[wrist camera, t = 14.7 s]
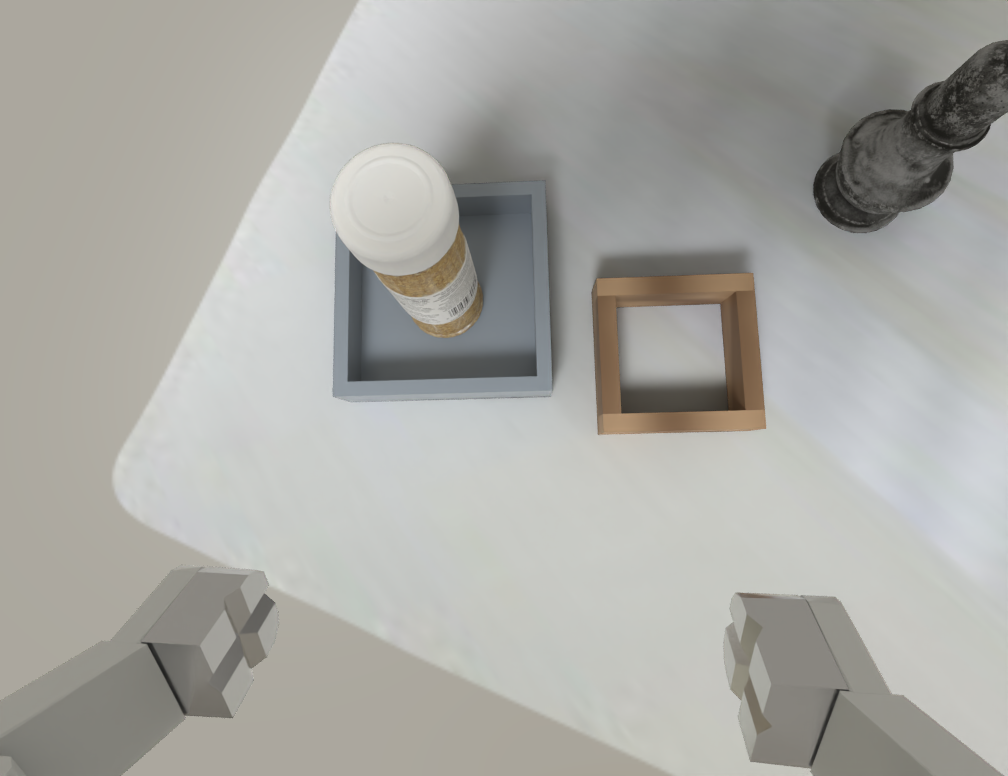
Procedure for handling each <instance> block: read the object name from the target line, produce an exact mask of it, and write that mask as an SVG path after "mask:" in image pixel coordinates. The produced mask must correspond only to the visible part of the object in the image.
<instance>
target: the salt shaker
mask: <svg viewBox="0 0 1008 776" xmlns="http://www.w3.org/2000/svg"><path fill="white" fill-rule="evenodd" d="M1007 112H1008V40H1005V41H999V42H994V43H991V44H989V45H987V46H985V47H984V48H982V49H980V50H979V51H977V52H976V53H975V54H974V55H973V56H972V57H971V58H969V59H968V60H967V61H966V62H965V63H964V64H963V65H962V66H961V67H960V68H958V69H957V70H956V71H955V72H954V73H953V74H952V75H951V76H950V77H949V78H948V79H946V80H945V81H942V82H937V83H934V84H932V85H930V86H928V87H926V88H925V89H924V90H922V91H921V92H920V93H919V94H918V95H917V97H916V98H915V100H914V101H913V104H912V107H911V110H910V111H905V110H884V111H880V112H875V113H873V114H871V115H869V116H867V117H865V118H863V119H861V120H860V121H859V122H858V123H857V124H856V125H854V126H853V127H852V128H851V129H850V131H849V133H848V134H847V136H846V137H845V139H844V141H843V145H842V149H841V152H840V153H838V154H836V155H834V156H832V157H831V158H830V159H829V160H827V161H826V162H825V163H824V164H823V165H822V166H821V168H820V170H819V171H818V173H817V174H816V178H815V181H814V185H813V186H814V198H815V202H816V205H817V207H818V209H819V210H820V212H821V213H822V215H823V216H824V217H825V218H826V219H827V220H828V221H829V222H830V223H831V224H833V225H835V226H837V227H838V228H840V229H842V230H846V231H849V232H853V233H867V232H872V231H876V230H878V229H880V228H882V227H884V226H886V225H888V224H889V223H890V222H891V221H892V220H893V219H894V218H896V216H897V215H898V213H899V212H907V211H911V210H916V209H920V208H922V207H924V206H926V205H928V204H930V203H932V202H933V201H934V200H935V199H937V198H938V197H939V196H940V195H941V194H942V193H943V192H944V190H945V189H946V187H947V185H948V184H949V182H950V180H951V176H952V172H953V153H954V152H956V151H961V150H966V149H969V148H971V147H973V146H975V145H977V144H978V143H979V142H980V141H981V140H982V139H983V138H985V136H986V134H987V133H988V131H989V129H990V126H991V123H993V122H994V121H996V120H997V119H998V118H1000V117H1001V116H1002V115H1004V114H1005V113H1007Z"/></svg>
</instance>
